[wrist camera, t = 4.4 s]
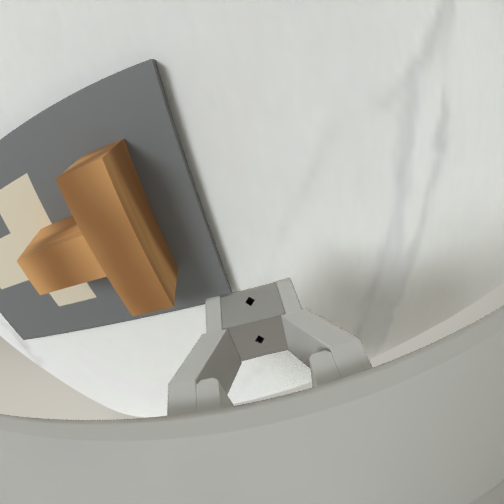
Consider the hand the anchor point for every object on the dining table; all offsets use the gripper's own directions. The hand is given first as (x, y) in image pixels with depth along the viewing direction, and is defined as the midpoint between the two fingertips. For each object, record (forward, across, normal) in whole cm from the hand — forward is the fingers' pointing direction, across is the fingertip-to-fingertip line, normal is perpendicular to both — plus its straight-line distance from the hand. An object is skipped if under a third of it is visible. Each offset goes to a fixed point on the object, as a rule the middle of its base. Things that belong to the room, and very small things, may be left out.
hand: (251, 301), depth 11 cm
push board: (+11, +14, 0) cm, 18 cm away
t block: (+10, +10, 0) cm, 14 cm away
